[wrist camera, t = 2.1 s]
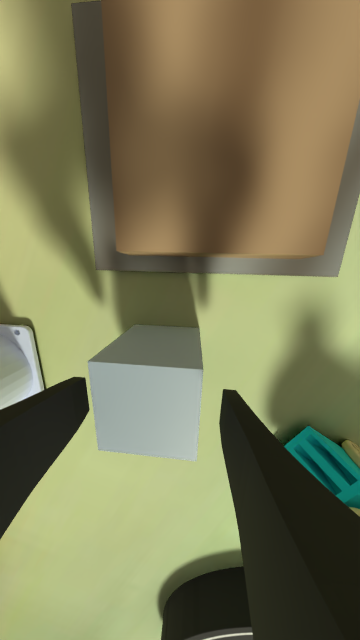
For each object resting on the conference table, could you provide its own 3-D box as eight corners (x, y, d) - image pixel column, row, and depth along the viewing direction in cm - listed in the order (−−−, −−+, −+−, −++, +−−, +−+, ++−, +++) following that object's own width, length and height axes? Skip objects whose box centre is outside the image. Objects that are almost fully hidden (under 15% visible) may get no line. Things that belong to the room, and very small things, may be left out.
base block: (99, 270, 12) (76, 268, 10) (76, 15, 9) (34, -78, 7) (332, 276, 11) (370, 276, 9) (406, -15, 8) (497, -141, 5)
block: (137, 380, 14) (98, 450, 8) (135, 324, 13) (87, 361, 7) (195, 384, 14) (196, 461, 8) (199, 327, 13) (203, 369, 7)
